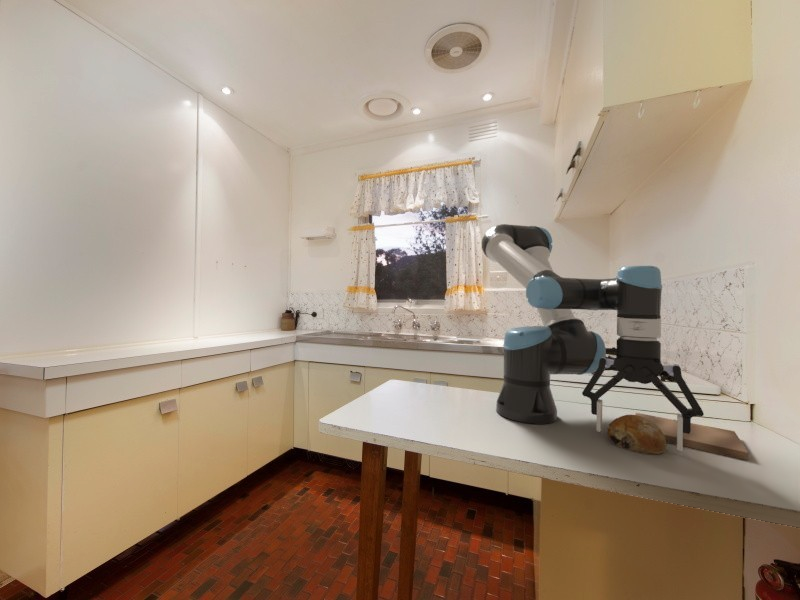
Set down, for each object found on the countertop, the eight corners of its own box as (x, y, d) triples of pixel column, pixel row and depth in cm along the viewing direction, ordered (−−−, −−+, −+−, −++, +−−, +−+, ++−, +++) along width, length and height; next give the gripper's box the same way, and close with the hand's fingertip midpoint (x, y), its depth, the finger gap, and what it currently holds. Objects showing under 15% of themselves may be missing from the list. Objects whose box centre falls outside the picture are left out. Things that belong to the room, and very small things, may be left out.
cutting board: (632, 434, 72) (632, 427, 72) (635, 418, 83) (635, 412, 83) (748, 460, 61) (748, 452, 61) (734, 437, 71) (734, 431, 71)
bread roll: (667, 476, 61) (688, 440, 61) (614, 448, 63) (634, 413, 62) (639, 453, 71) (657, 422, 70) (594, 429, 73) (611, 399, 72)
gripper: (569, 334, 72) (567, 427, 72) (724, 345, 56) (723, 464, 56) (575, 333, 78) (574, 419, 78) (717, 342, 62) (717, 450, 62)
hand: (636, 438), depth 67 cm, fingers open, 13 cm apart
